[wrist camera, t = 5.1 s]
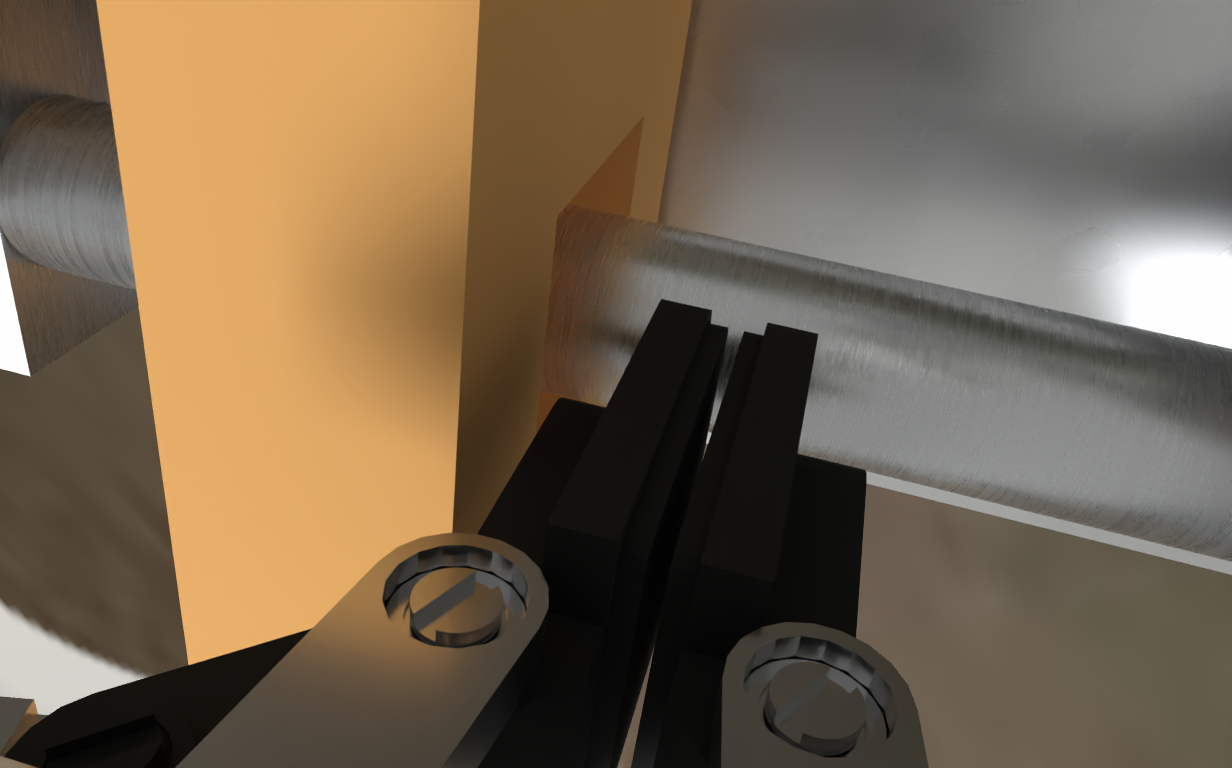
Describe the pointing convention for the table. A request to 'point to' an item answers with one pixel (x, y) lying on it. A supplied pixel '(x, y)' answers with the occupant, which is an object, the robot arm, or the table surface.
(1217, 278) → the pipe stand
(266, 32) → the collar
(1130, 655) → the table surface
